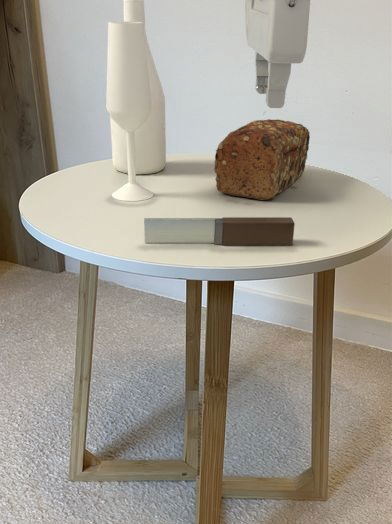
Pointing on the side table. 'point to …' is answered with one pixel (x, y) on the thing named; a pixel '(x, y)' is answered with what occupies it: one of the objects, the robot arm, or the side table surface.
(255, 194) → the bread
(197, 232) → the knife
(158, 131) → the wine bottle
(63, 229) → the side table surface
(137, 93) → the champagne flute
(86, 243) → the side table surface
